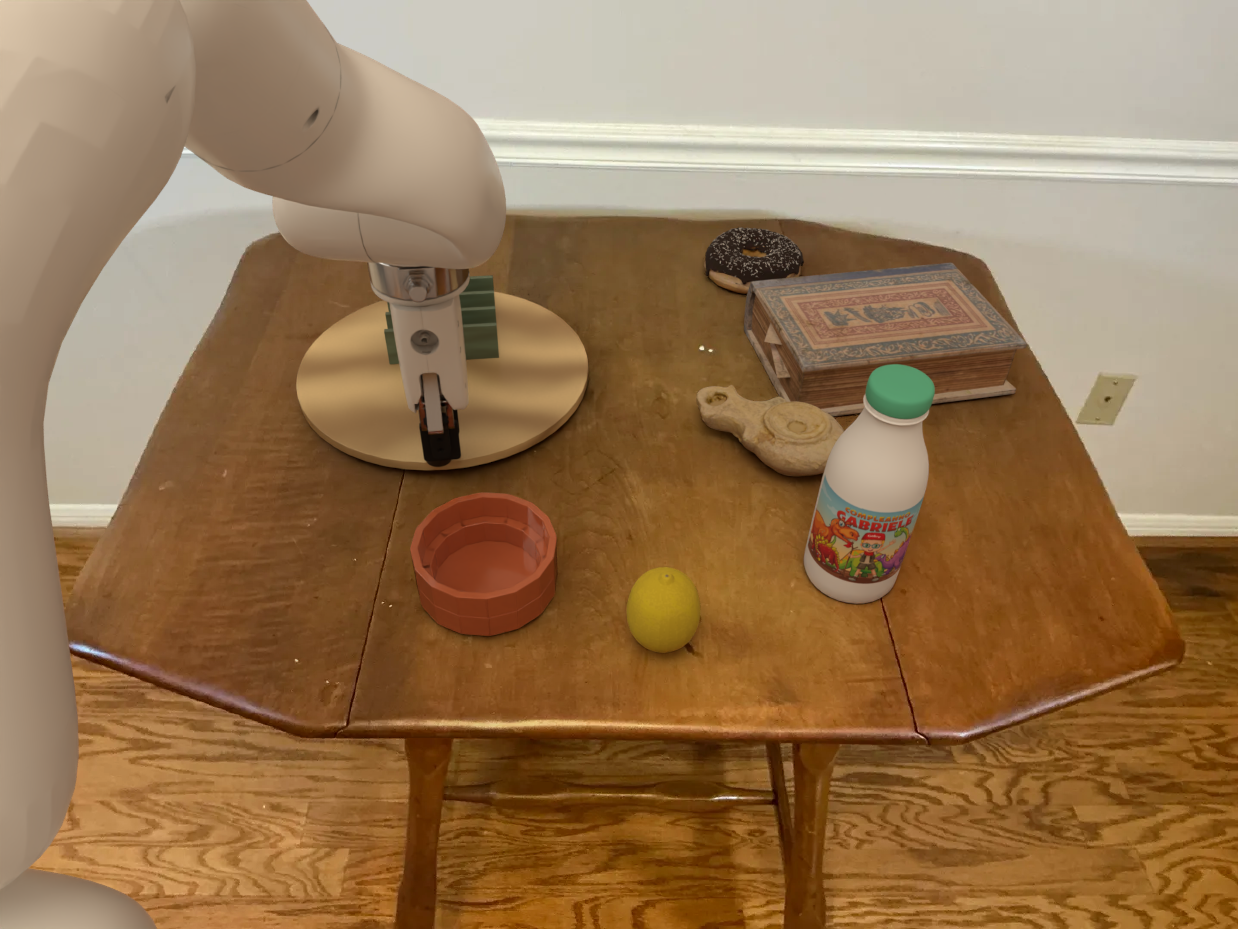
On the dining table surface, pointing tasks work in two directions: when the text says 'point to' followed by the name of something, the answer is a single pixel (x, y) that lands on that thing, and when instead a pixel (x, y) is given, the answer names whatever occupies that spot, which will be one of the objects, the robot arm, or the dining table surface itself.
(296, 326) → the dining table surface
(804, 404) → the oil lamp
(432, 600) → the bowl
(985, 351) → the book
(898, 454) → the milk bottle
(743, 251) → the donut
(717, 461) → the dining table surface
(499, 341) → the dish rack
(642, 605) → the lemon
